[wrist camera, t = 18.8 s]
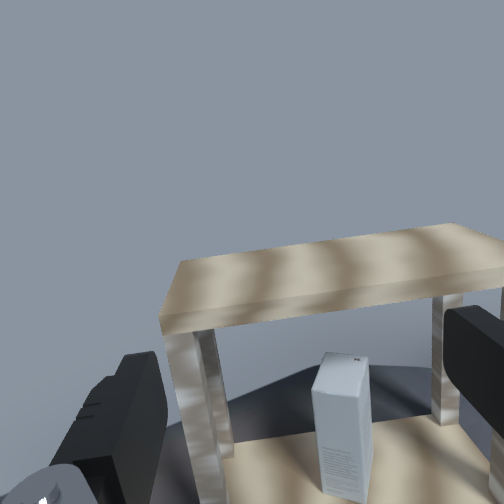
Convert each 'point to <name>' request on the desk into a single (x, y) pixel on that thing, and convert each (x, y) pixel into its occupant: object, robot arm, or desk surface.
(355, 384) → the skincare box
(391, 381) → the desk surface
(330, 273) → the oak counter shelf
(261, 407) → the desk surface
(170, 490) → the desk surface
